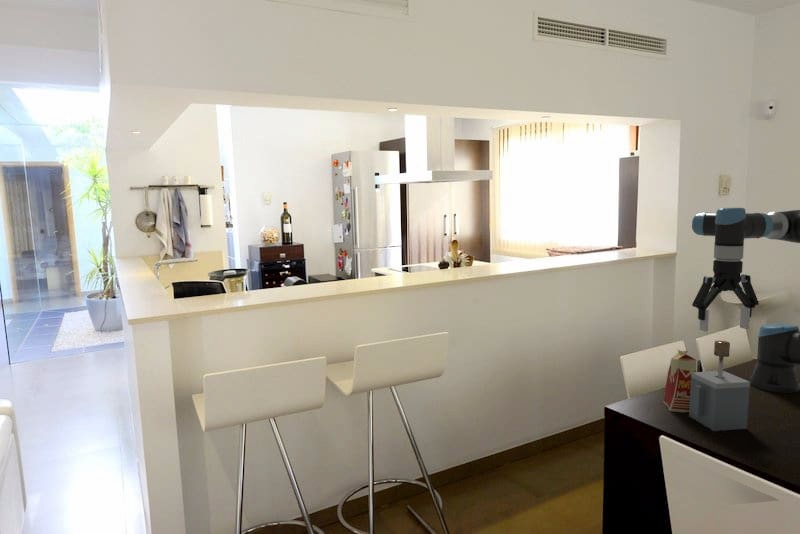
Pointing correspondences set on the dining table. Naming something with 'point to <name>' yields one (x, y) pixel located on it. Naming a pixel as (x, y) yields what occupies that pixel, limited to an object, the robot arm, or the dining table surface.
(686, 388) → the milk carton
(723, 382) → the grey box with hole
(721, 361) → the plunger
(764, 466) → the dining table surface
